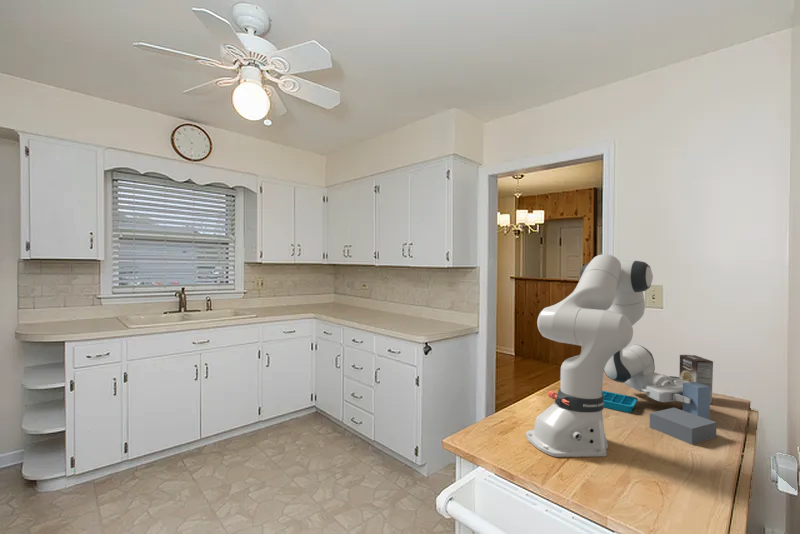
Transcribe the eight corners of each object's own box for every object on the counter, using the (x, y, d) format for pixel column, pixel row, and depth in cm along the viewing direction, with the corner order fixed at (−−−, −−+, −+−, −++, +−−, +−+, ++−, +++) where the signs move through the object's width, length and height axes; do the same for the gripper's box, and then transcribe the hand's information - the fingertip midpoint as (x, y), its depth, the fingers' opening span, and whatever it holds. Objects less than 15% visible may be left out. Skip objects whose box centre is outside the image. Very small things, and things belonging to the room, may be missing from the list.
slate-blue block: (697, 424, 120) (697, 387, 120) (682, 418, 125) (682, 382, 125) (709, 422, 121) (709, 386, 121) (694, 416, 126) (694, 381, 126)
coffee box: (678, 394, 148) (678, 354, 148) (694, 394, 148) (695, 354, 147) (695, 403, 139) (696, 360, 139) (713, 403, 139) (713, 360, 138)
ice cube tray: (579, 393, 149) (579, 385, 149) (638, 405, 136) (638, 397, 136) (571, 401, 141) (571, 393, 141) (633, 415, 128) (633, 406, 128)
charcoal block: (691, 445, 106) (691, 428, 106) (649, 428, 118) (649, 412, 118) (716, 438, 111) (716, 422, 111) (673, 422, 122) (673, 407, 122)
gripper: (637, 380, 133) (673, 393, 120) (682, 376, 138) (722, 388, 124) (637, 397, 133) (673, 412, 120) (682, 393, 138) (722, 407, 124)
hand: (698, 400), depth 122 cm, fingers closed on slate-blue block, 5 cm apart
